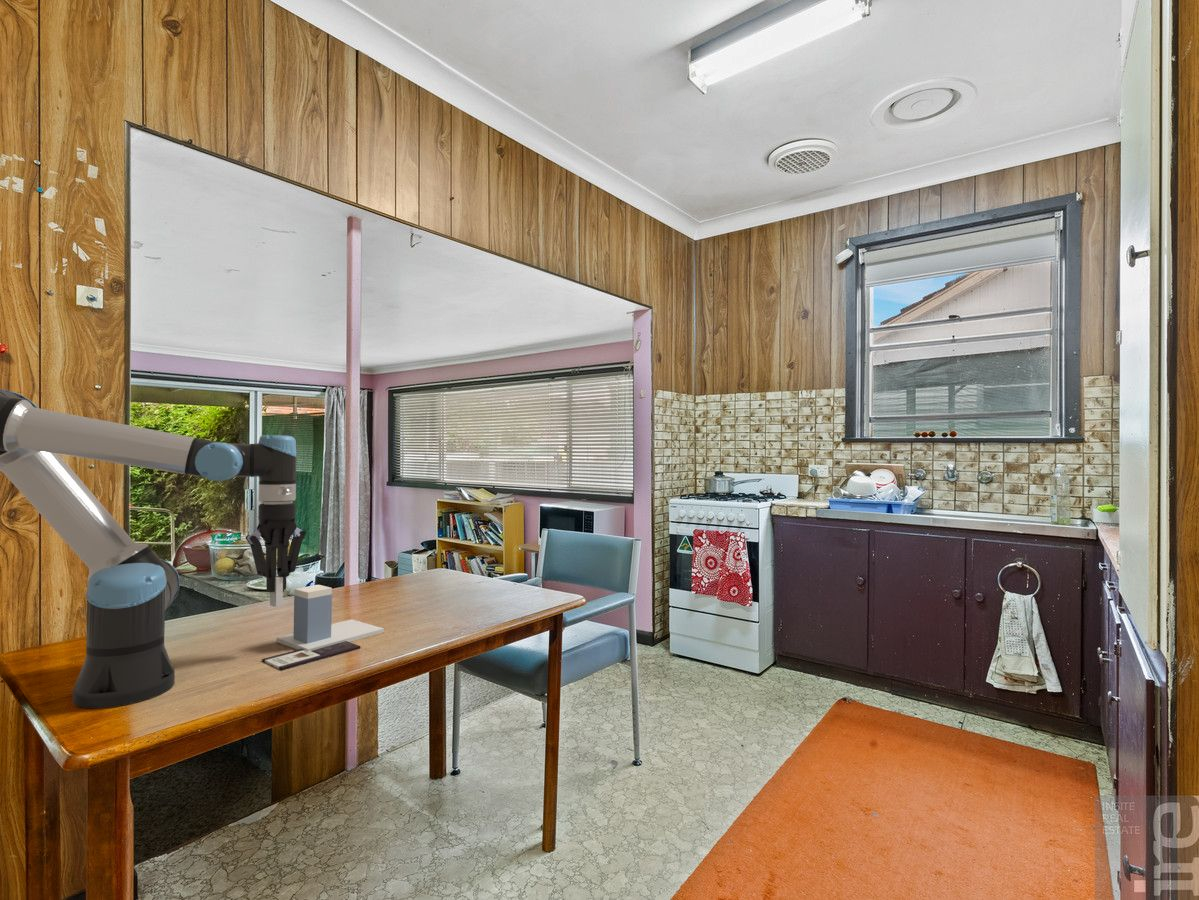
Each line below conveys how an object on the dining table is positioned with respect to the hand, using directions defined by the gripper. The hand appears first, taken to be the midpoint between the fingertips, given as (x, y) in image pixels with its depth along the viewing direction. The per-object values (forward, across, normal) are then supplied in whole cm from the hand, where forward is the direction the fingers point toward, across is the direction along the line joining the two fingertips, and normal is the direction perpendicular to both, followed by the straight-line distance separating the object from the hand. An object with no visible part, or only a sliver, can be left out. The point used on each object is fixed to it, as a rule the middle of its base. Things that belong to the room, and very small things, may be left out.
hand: (276, 605), depth 136 cm
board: (+11, +14, 0) cm, 18 cm away
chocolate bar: (+12, +4, -8) cm, 15 cm away
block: (+10, +9, 0) cm, 13 cm away
